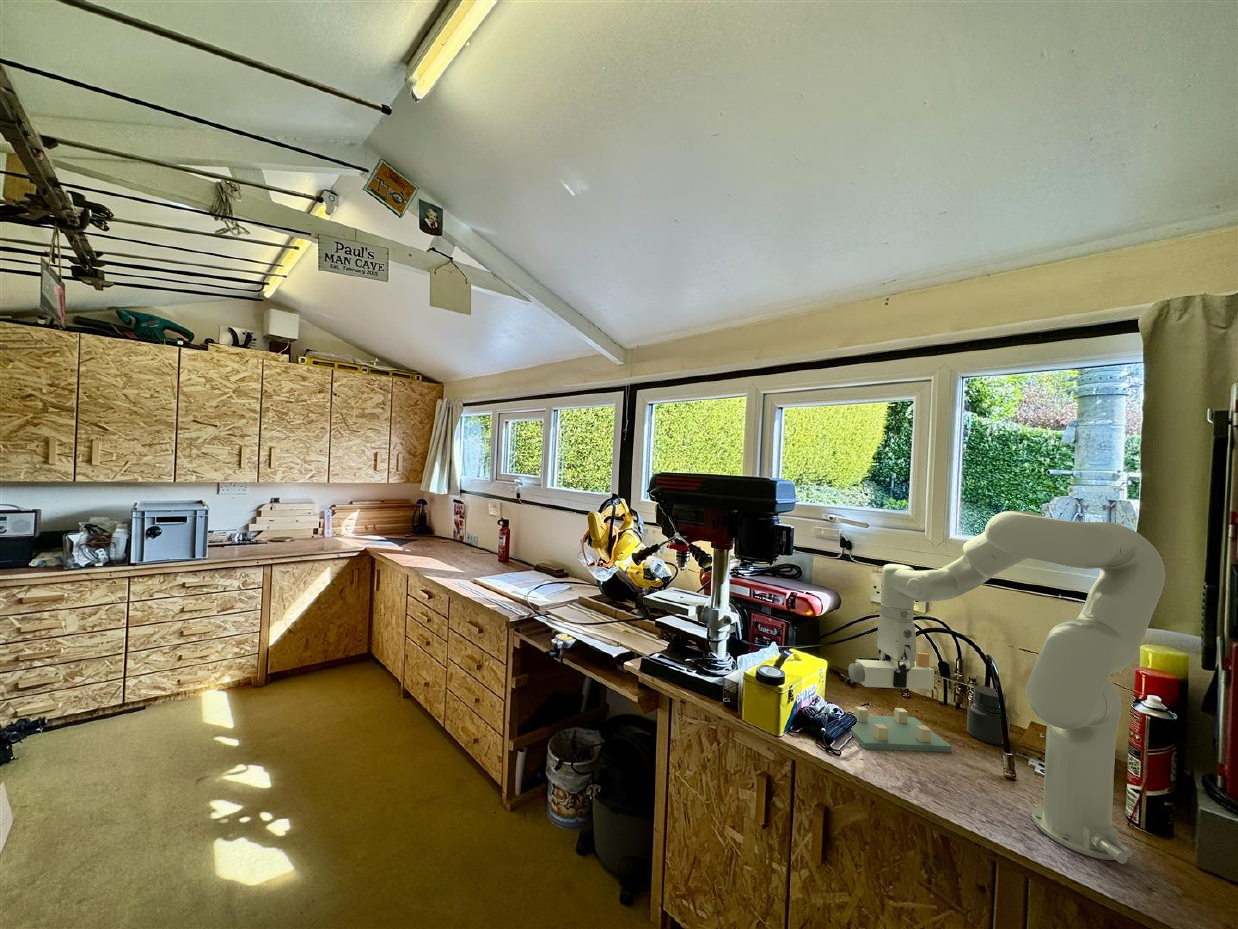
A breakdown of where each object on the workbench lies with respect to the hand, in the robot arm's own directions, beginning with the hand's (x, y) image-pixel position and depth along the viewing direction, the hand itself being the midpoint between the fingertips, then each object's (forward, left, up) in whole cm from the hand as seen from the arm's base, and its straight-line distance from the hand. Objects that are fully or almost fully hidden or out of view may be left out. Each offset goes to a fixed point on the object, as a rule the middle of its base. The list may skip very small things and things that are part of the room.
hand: (892, 681), depth 126 cm
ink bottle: (+1, -27, -14) cm, 31 cm away
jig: (0, 0, -14) cm, 14 cm away
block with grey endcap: (0, 0, -1) cm, 1 cm away
